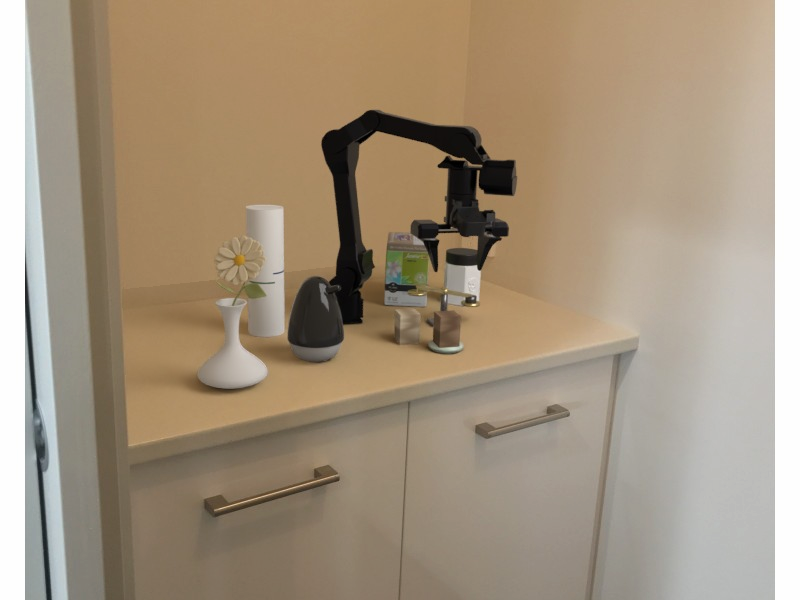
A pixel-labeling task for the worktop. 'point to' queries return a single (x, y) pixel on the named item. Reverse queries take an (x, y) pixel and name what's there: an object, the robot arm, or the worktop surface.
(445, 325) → the block walnut
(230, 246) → the flower in vase
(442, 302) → the balance
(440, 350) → the dish
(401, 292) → the tea box
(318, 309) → the pump dispenser
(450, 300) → the jar
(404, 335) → the block beech
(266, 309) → the cylindrical container
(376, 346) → the worktop surface
